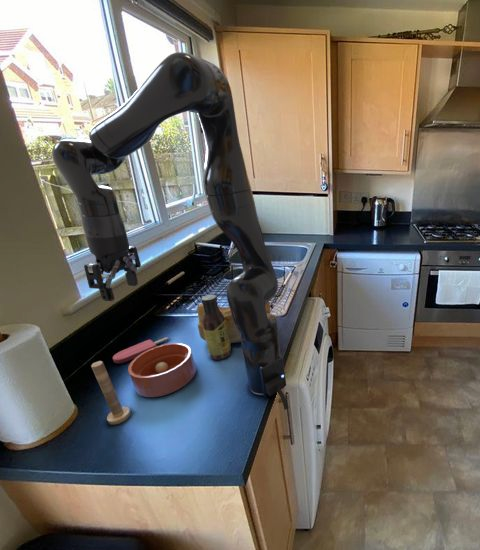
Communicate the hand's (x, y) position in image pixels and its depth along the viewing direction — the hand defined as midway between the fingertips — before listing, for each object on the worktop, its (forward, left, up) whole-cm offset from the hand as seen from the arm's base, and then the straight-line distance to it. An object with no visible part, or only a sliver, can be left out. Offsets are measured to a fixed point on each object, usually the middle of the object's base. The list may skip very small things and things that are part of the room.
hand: (121, 292), depth 79 cm
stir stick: (-14, +10, -25) cm, 31 cm away
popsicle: (+12, -1, -25) cm, 28 cm away
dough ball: (-5, -2, -23) cm, 24 cm away
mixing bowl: (-8, -2, -25) cm, 27 cm away
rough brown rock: (-3, -28, -25) cm, 38 cm away
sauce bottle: (-8, -17, -25) cm, 32 cm away
